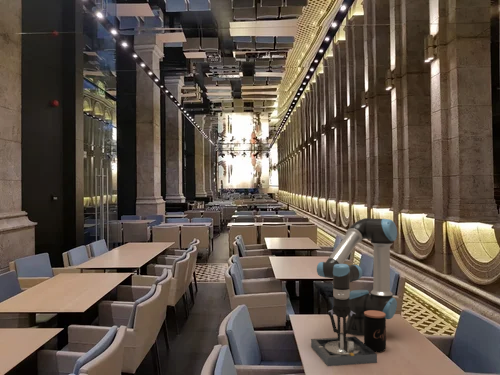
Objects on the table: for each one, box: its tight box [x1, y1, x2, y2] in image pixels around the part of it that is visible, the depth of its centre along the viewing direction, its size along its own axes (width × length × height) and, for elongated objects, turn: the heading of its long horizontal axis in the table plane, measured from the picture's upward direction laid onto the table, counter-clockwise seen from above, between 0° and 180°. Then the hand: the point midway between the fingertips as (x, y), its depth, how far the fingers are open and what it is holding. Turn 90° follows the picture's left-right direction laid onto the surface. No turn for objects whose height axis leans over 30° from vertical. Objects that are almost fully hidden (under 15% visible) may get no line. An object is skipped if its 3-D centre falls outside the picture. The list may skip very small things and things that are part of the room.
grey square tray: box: [310, 335, 378, 367], centre depth 200 cm, size 24×24×5 cm
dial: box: [325, 338, 360, 355], centre depth 200 cm, size 17×17×6 cm
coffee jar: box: [363, 310, 387, 353], centre depth 207 cm, size 11×11×18 cm
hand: (341, 347), depth 192 cm, fingers closed
